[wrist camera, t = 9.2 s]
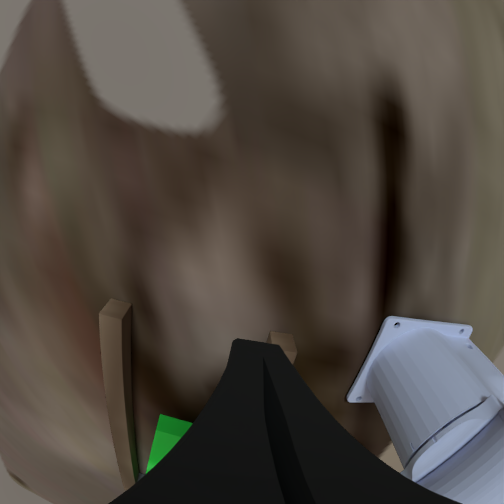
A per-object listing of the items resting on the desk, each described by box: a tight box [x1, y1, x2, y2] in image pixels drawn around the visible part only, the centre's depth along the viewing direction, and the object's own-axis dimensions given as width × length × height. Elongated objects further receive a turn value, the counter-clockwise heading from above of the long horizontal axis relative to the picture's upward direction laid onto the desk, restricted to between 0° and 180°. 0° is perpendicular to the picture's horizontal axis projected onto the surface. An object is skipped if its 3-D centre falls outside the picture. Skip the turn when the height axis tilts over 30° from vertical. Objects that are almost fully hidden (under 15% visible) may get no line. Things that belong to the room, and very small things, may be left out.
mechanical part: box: [146, 414, 193, 473], centre depth 20 cm, size 12×6×8 cm, turn 160°
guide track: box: [99, 299, 297, 490], centre depth 21 cm, size 12×25×3 cm, turn 168°
